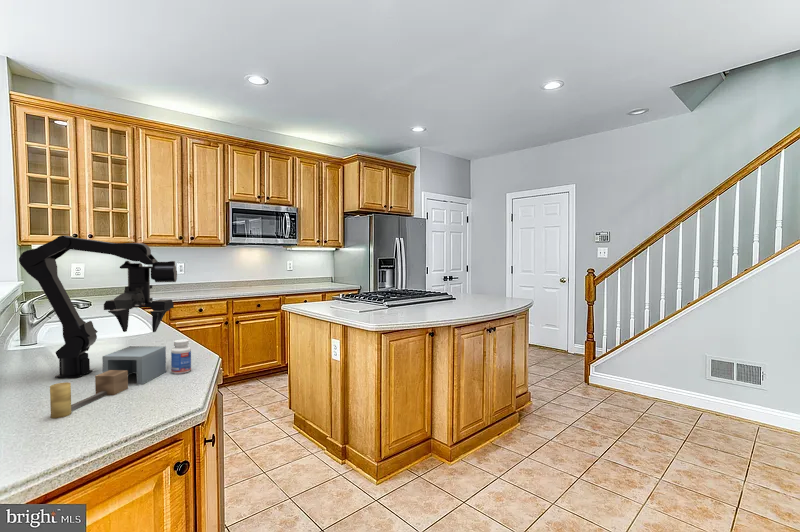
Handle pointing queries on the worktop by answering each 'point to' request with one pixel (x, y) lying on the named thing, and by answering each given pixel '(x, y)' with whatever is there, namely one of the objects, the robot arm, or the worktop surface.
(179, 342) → the pill bottle
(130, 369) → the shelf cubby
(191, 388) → the worktop surface
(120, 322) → the robot arm
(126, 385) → the block
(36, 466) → the worktop surface
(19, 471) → the worktop surface
